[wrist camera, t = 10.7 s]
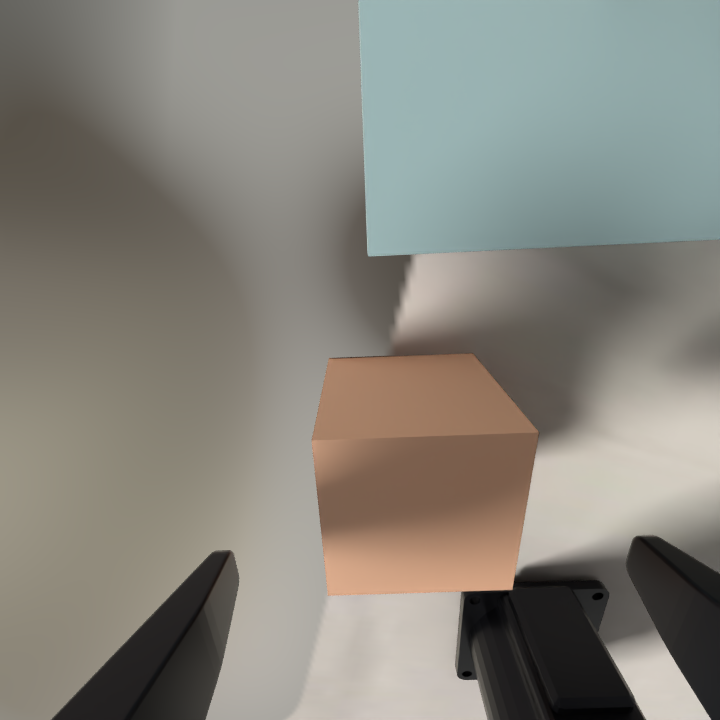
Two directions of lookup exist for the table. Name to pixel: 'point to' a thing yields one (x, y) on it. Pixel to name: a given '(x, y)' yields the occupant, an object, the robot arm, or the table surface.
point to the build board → (539, 123)
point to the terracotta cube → (420, 475)
